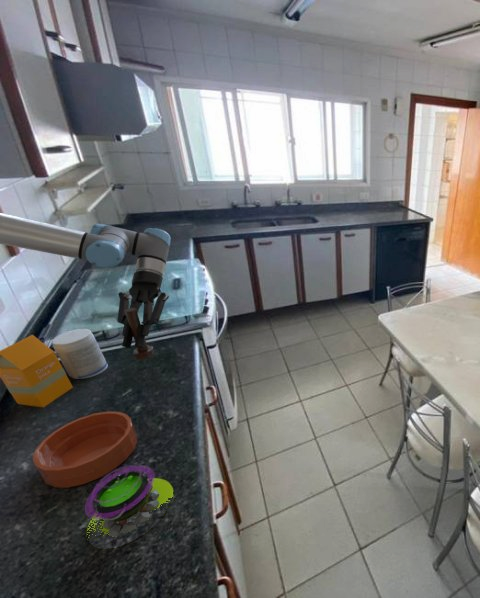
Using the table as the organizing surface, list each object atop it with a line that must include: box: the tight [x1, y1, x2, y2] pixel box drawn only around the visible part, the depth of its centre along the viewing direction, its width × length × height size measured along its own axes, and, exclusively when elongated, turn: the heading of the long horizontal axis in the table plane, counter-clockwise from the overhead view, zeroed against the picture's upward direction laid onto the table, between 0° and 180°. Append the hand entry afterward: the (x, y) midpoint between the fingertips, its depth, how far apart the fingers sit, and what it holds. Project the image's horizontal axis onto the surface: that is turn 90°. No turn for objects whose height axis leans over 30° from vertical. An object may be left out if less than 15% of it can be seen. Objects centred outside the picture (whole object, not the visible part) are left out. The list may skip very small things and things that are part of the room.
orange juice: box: [0, 334, 74, 408], centre depth 93 cm, size 8×9×20 cm
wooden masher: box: [125, 307, 155, 361], centre depth 100 cm, size 5×5×16 cm
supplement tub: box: [51, 328, 109, 380], centre depth 106 cm, size 10×10×15 cm
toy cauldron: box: [84, 465, 174, 538], centre depth 68 cm, size 15×15×11 cm
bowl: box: [32, 410, 138, 489], centre depth 81 cm, size 18×18×6 cm
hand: (132, 346), depth 97 cm, fingers closed on wooden masher, 3 cm apart
